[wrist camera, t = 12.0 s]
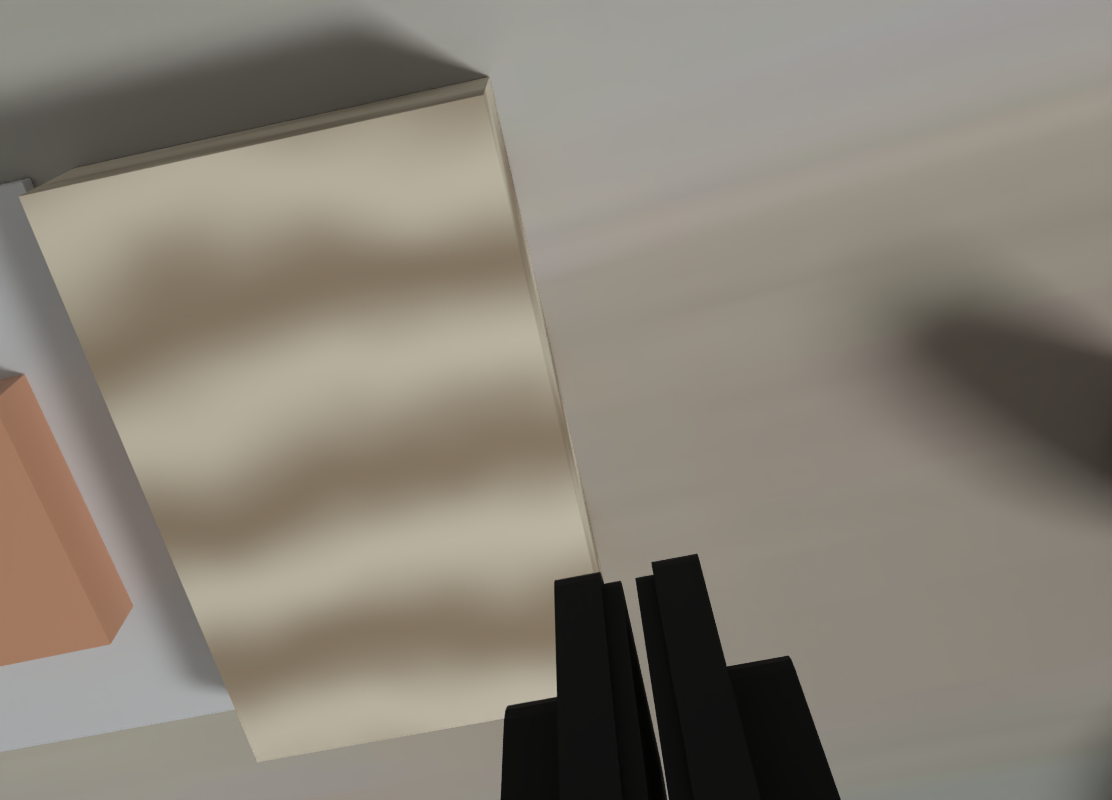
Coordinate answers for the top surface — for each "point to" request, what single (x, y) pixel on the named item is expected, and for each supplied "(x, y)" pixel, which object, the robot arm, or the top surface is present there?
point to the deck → (336, 409)
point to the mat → (123, 523)
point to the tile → (48, 544)
